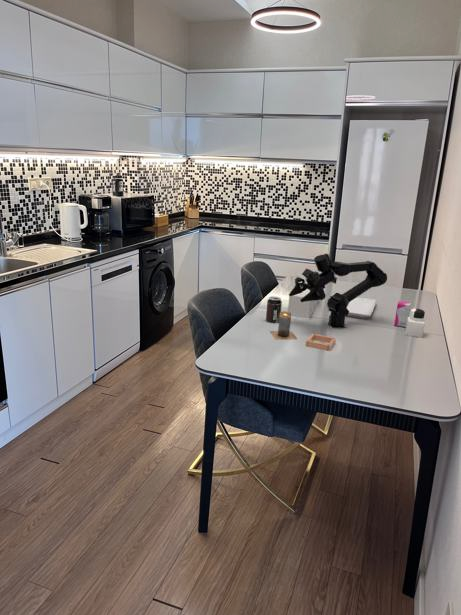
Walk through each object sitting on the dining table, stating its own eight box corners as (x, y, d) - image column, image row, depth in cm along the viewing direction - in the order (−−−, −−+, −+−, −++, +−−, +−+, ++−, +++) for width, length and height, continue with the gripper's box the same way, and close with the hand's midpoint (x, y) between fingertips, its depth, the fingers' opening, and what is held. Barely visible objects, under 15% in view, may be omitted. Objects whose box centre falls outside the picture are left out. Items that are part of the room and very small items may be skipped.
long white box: (308, 318, 227) (310, 298, 224) (287, 315, 230) (289, 295, 227) (317, 302, 256) (320, 283, 253) (298, 299, 259) (300, 281, 256)
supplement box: (407, 324, 226) (411, 302, 223) (406, 328, 221) (410, 305, 217) (395, 322, 228) (398, 300, 225) (393, 326, 223) (397, 303, 220)
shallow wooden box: (311, 340, 199) (312, 333, 198) (334, 344, 195) (335, 338, 194) (305, 347, 190) (306, 340, 190) (329, 352, 187) (330, 345, 186)
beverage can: (279, 325, 215) (281, 300, 211) (264, 323, 216) (266, 299, 213) (280, 320, 221) (282, 296, 218) (266, 319, 223) (268, 295, 219)
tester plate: (291, 332, 207) (291, 330, 206) (297, 340, 197) (297, 339, 197) (269, 332, 205) (269, 331, 205) (275, 341, 195) (275, 339, 195)
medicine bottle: (421, 333, 215) (426, 308, 212) (422, 338, 209) (426, 313, 205) (405, 330, 218) (409, 306, 214) (405, 335, 211) (410, 310, 208)
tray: (336, 316, 234) (336, 309, 233) (345, 300, 262) (345, 295, 261) (370, 321, 228) (371, 315, 227) (375, 305, 256) (376, 299, 255)
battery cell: (287, 333, 204) (289, 311, 201) (290, 337, 199) (292, 315, 196) (276, 333, 203) (278, 311, 200) (279, 337, 198) (281, 315, 195)
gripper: (304, 260, 211) (277, 278, 208) (329, 269, 195) (300, 289, 192) (312, 280, 217) (286, 298, 213) (336, 290, 201) (309, 310, 197)
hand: (294, 298), depth 204 cm, fingers open, 9 cm apart
